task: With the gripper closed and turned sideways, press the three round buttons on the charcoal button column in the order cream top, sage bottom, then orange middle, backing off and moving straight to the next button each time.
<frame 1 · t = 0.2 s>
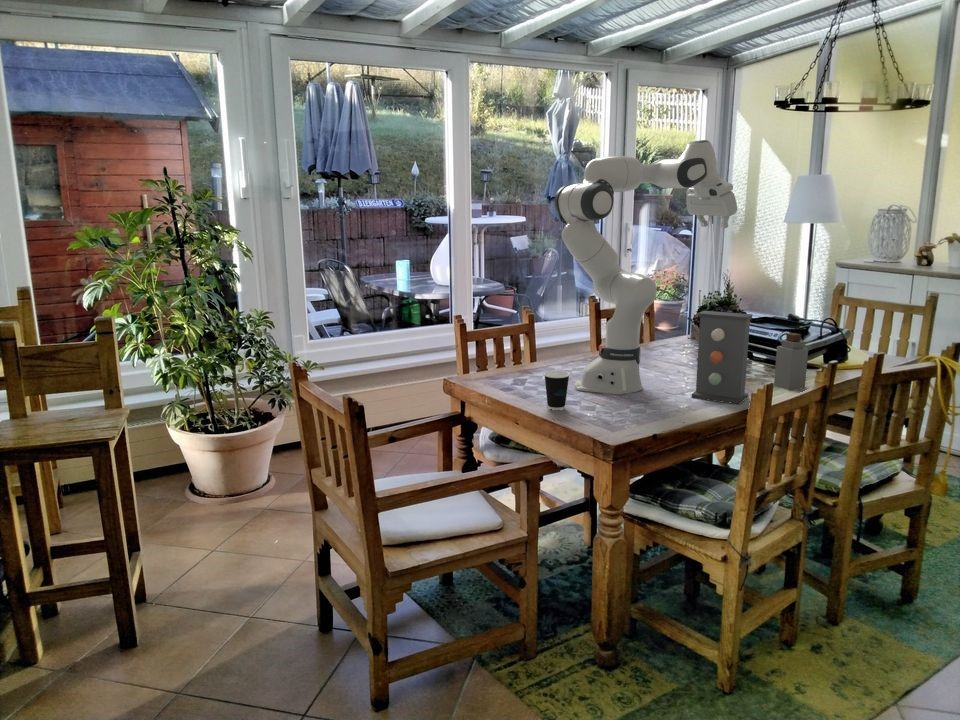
hand: (714, 227, 251), 52 cm above the table, tool tilted 20°, fingers open, 8 cm apart
decorative bird figurine: (719, 381, 254), on the table
button top: (718, 334, 225), point 22 cm above the table, slide at 0.0 cm
perfume bottle: (789, 387, 246), on the table
button bottom: (715, 378, 228), point 7 cm above the table, slide at 0.0 cm
dixie cup: (556, 409, 225), on the table
button middle: (717, 356, 227), point 14 cm above the table, slide at 0.0 cm
button column: (719, 397, 235), on the table
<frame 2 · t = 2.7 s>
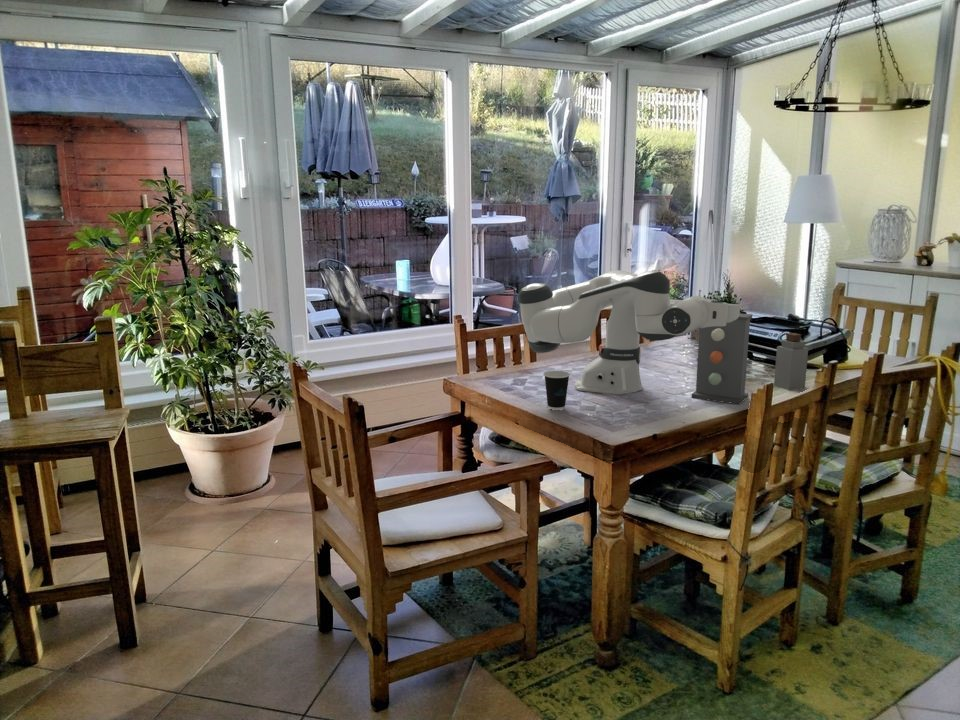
hand: (709, 305, 213), 32 cm above the table, tool horizontal, fingers open, 6 cm apart
nothing on the table moved.
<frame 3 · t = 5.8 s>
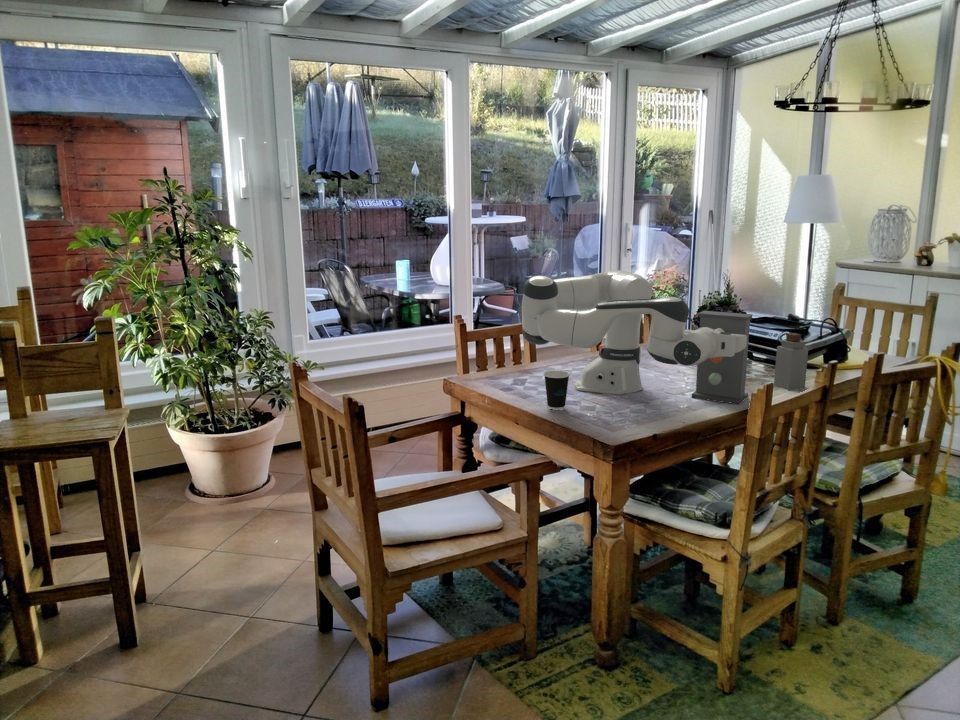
hand: (717, 334, 224), 22 cm above the table, tool horizontal, fingers closed, pressing on button top
button top: (718, 334, 225), point 22 cm above the table, slide at 0.3 cm, touching gripper
everything else where it was.
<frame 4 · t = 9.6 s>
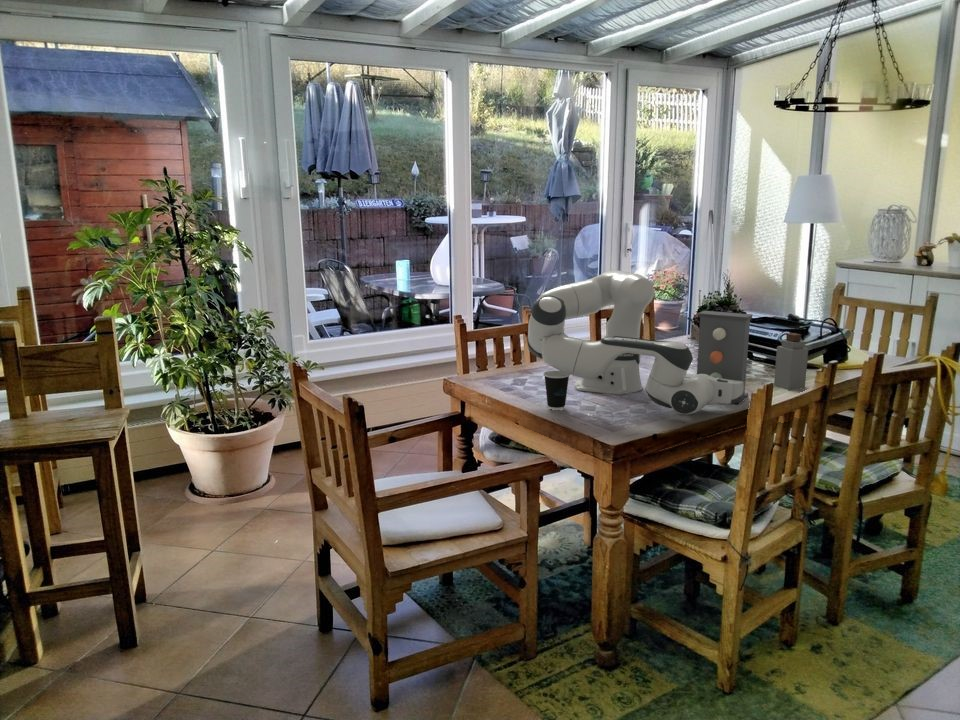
hand: (715, 379, 227), 8 cm above the table, tool horizontal, fingers closed, pressing on button bottom
button top: (720, 333, 226), point 22 cm above the table, slide at 1.5 cm
button bottom: (716, 378, 229), point 8 cm above the table, slide at 0.5 cm, touching gripper
everything else where it was.
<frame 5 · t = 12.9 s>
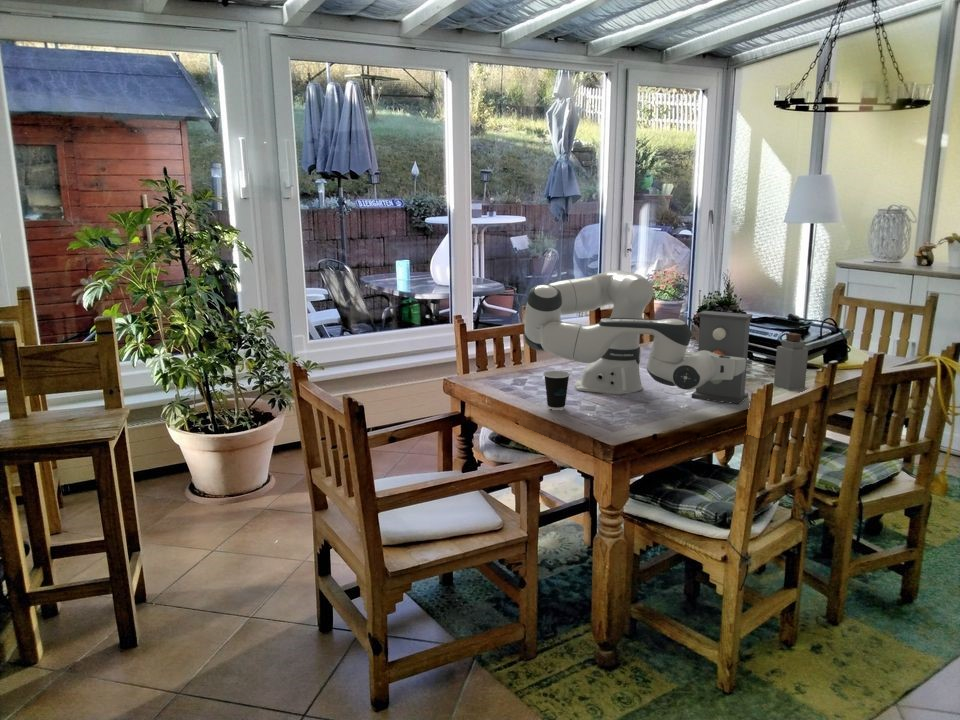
hand: (717, 356, 226), 15 cm above the table, tool horizontal, fingers closed, pressing on button middle
button bottom: (717, 377, 229), point 7 cm above the table, slide at 1.5 cm
button middle: (718, 355, 227), point 14 cm above the table, slide at 1.0 cm, touching gripper
everything else where it was.
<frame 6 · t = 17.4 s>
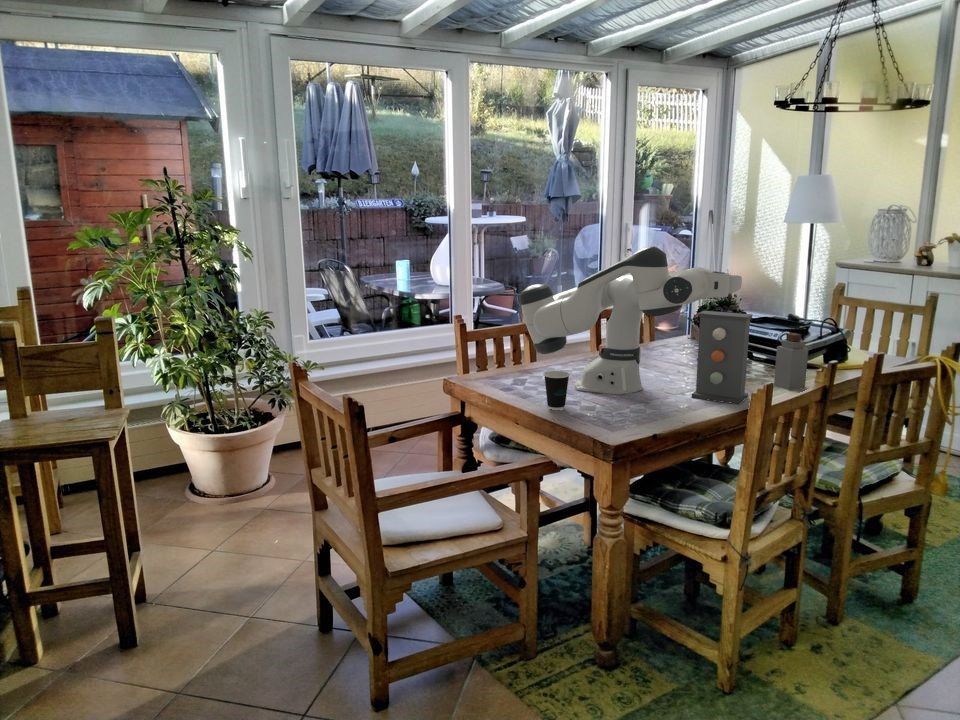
hand: (710, 278, 211), 40 cm above the table, tool horizontal, fingers closed
button middle: (718, 355, 228), point 15 cm above the table, slide at 1.5 cm
everything else where it was.
at the end: button top slide at 1.5 cm; button bottom slide at 1.5 cm; button middle slide at 1.5 cm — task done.
